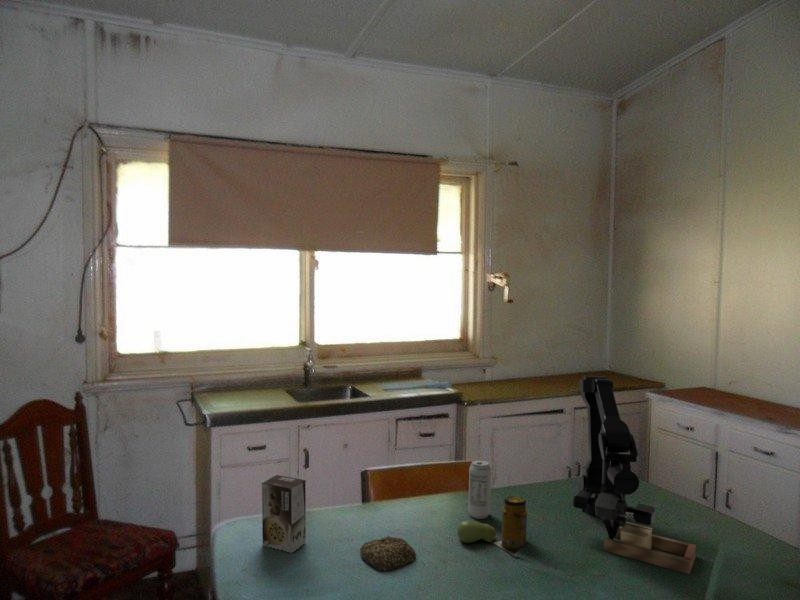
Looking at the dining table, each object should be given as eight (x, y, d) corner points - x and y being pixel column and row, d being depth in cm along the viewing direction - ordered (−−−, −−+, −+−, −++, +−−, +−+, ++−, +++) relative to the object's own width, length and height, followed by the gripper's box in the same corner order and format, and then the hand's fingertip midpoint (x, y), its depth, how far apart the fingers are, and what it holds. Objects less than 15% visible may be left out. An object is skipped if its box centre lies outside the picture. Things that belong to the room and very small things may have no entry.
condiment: (515, 537, 153) (516, 491, 153) (538, 551, 146) (539, 503, 145) (493, 543, 150) (494, 497, 149) (515, 558, 142) (516, 509, 142)
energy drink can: (493, 513, 167) (494, 461, 166) (484, 521, 162) (485, 467, 161) (473, 508, 171) (475, 457, 170) (464, 516, 165) (465, 463, 165)
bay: (601, 558, 143) (602, 539, 143) (615, 537, 154) (615, 520, 153) (688, 582, 132) (689, 562, 132) (696, 558, 143) (697, 540, 143)
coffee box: (306, 542, 148) (307, 479, 147) (291, 554, 143) (291, 488, 142) (276, 535, 152) (276, 473, 151) (261, 546, 146) (261, 482, 145)
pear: (456, 516, 152) (491, 518, 155) (452, 536, 152) (488, 538, 155) (464, 525, 147) (500, 527, 150) (460, 546, 147) (497, 548, 150)
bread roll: (375, 575, 134) (376, 554, 134) (354, 551, 145) (354, 532, 145) (424, 563, 140) (425, 542, 140) (400, 541, 151) (401, 522, 151)
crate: (619, 551, 144) (620, 529, 144) (625, 541, 149) (626, 520, 149) (646, 558, 141) (647, 536, 140) (651, 548, 146) (652, 527, 145)
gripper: (566, 480, 145) (564, 542, 146) (647, 498, 135) (644, 564, 136) (580, 467, 155) (578, 526, 156) (657, 483, 144) (654, 546, 145)
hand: (612, 540), depth 148 cm, fingers closed
